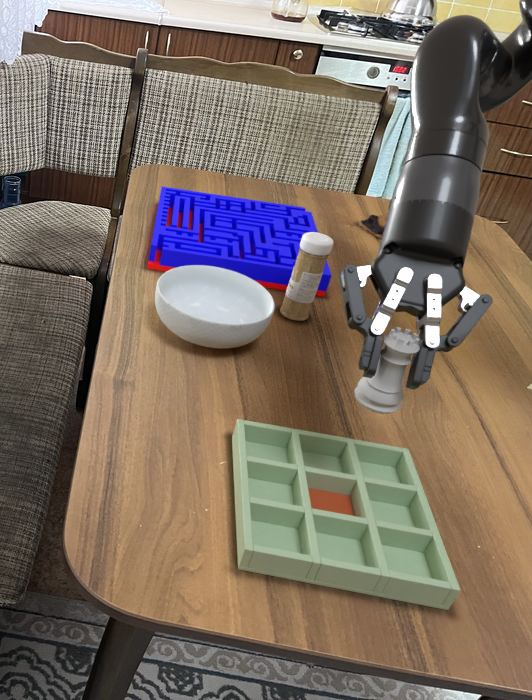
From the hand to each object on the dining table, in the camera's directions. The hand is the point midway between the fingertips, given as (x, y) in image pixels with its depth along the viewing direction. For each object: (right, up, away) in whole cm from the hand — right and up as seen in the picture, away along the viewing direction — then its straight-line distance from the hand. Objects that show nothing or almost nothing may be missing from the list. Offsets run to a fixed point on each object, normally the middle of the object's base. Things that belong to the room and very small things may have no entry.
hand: (391, 381), depth 64 cm
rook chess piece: (0, -2, +4) cm, 5 cm away
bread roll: (+37, +28, +78) cm, 90 cm away
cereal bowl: (-10, +5, +38) cm, 39 cm away
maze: (+1, +22, +64) cm, 68 cm away
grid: (-2, -15, +9) cm, 18 cm away
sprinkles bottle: (+6, +8, +45) cm, 46 cm away
